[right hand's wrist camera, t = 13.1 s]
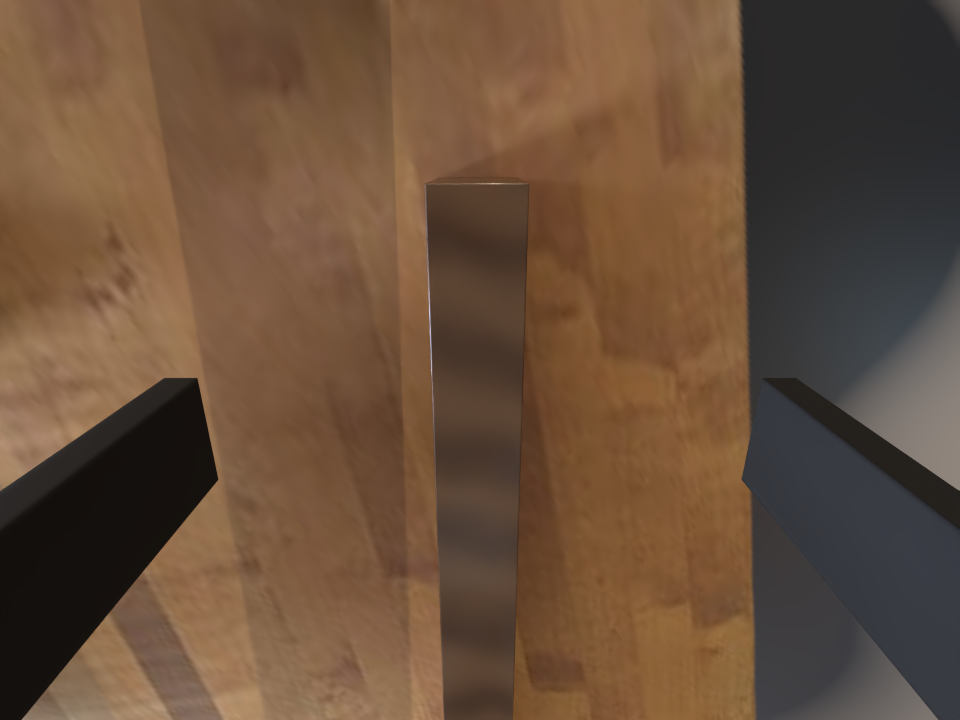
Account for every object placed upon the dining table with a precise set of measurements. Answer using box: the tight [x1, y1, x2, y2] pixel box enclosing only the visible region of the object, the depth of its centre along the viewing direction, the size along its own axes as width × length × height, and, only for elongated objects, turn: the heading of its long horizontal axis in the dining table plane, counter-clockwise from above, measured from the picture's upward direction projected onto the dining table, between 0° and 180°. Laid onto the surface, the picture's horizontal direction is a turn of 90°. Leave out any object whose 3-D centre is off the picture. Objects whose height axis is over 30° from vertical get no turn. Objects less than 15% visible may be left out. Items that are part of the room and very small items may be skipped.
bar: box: [425, 178, 529, 720], centre depth 44 cm, size 83×5×8 cm, turn 0°
